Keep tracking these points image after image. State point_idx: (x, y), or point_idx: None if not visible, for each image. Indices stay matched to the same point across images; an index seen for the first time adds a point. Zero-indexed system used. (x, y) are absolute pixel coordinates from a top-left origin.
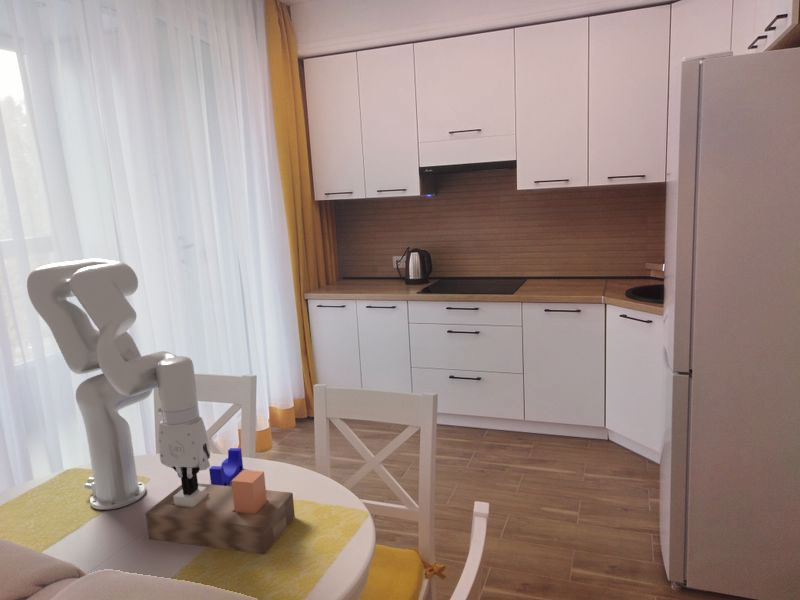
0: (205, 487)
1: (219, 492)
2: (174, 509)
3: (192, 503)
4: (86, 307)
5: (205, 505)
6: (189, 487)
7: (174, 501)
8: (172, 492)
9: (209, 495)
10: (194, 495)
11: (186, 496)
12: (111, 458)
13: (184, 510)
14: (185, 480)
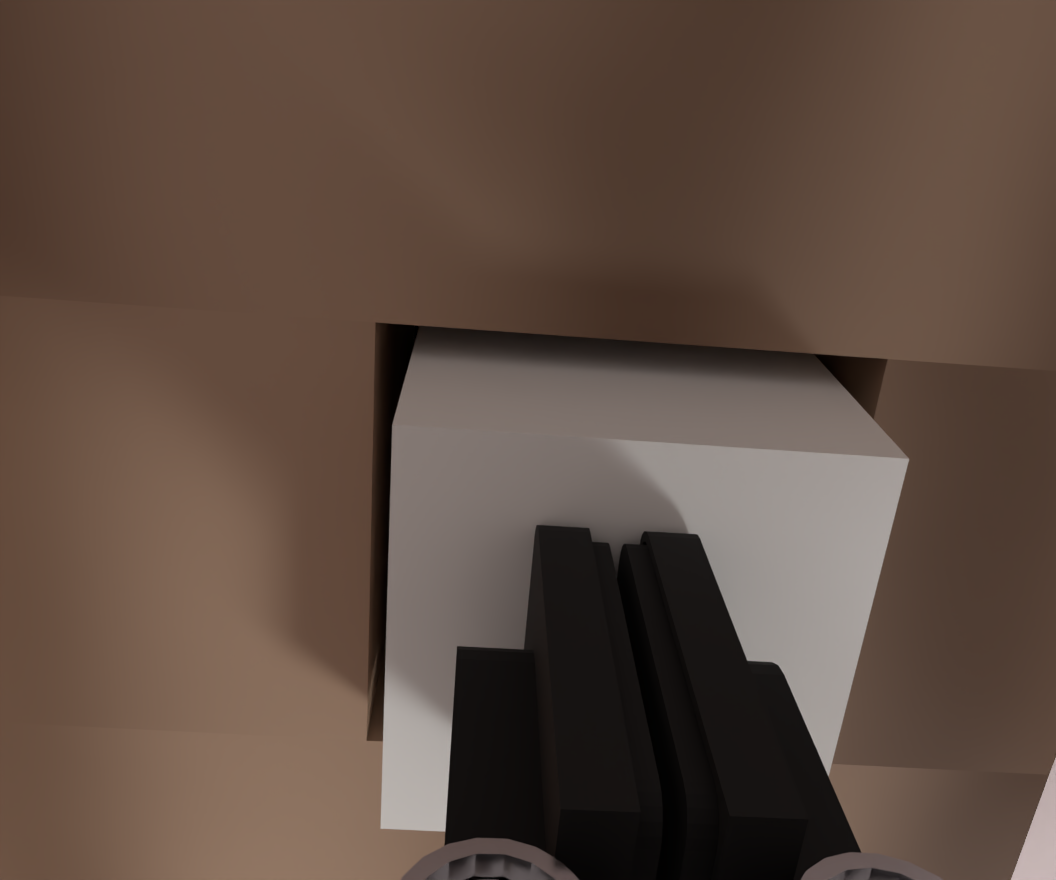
0: (385, 813)
1: (233, 799)
2: (750, 210)
3: (432, 380)
4: None
5: (204, 414)
6: (544, 648)
7: (855, 412)
8: (1053, 721)
9: (348, 708)
10: (431, 534)
11: (590, 476)
12: None
13: (519, 199)
14: (647, 774)
